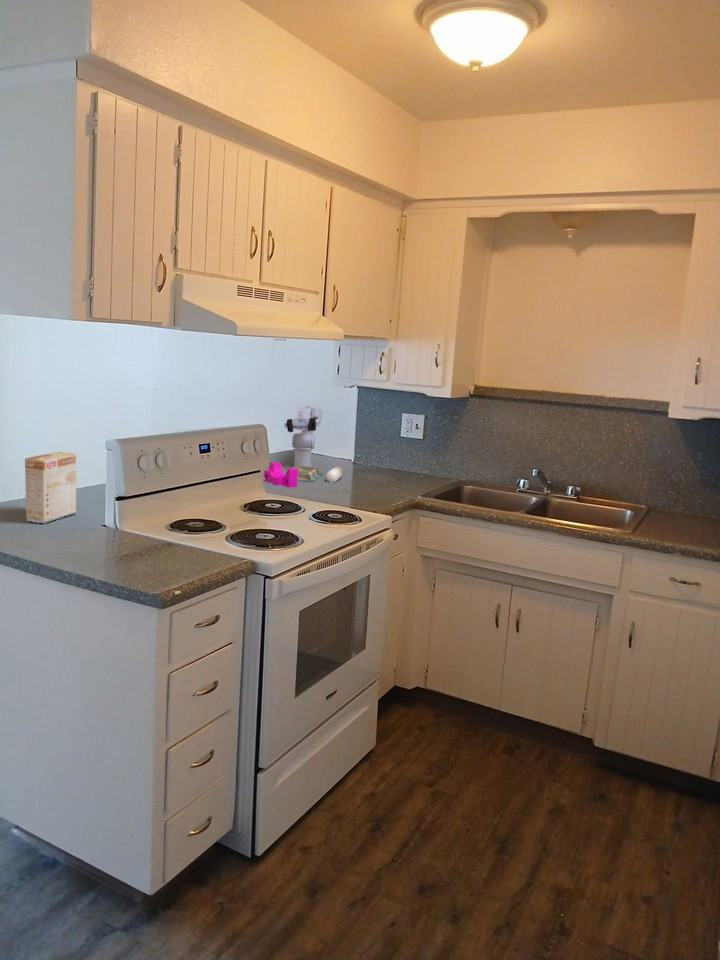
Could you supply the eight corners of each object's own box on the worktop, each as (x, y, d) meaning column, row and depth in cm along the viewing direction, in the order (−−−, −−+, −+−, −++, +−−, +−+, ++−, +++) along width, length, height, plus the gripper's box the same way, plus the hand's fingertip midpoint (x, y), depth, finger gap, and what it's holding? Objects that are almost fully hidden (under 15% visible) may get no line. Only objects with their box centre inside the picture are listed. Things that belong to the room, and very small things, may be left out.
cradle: (291, 471, 339) (292, 464, 338) (322, 474, 337) (323, 467, 336) (280, 479, 320) (280, 472, 319) (313, 482, 318) (313, 475, 317)
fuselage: (331, 477, 333) (331, 466, 332) (342, 478, 332) (343, 466, 331) (325, 482, 321) (326, 470, 320) (337, 483, 320) (337, 471, 319)
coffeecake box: (58, 511, 245) (58, 451, 241) (77, 514, 243) (77, 453, 239) (24, 521, 231) (23, 457, 227) (44, 524, 229) (43, 460, 225)
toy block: (263, 481, 315) (264, 462, 313) (276, 480, 319) (277, 462, 317) (283, 488, 304) (284, 469, 302) (296, 487, 308) (297, 468, 306)
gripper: (285, 412, 333) (281, 421, 321) (319, 410, 332) (315, 419, 320) (287, 428, 336) (282, 437, 323) (320, 426, 335) (317, 435, 322)
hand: (299, 429), depth 321 cm, fingers open, 7 cm apart
